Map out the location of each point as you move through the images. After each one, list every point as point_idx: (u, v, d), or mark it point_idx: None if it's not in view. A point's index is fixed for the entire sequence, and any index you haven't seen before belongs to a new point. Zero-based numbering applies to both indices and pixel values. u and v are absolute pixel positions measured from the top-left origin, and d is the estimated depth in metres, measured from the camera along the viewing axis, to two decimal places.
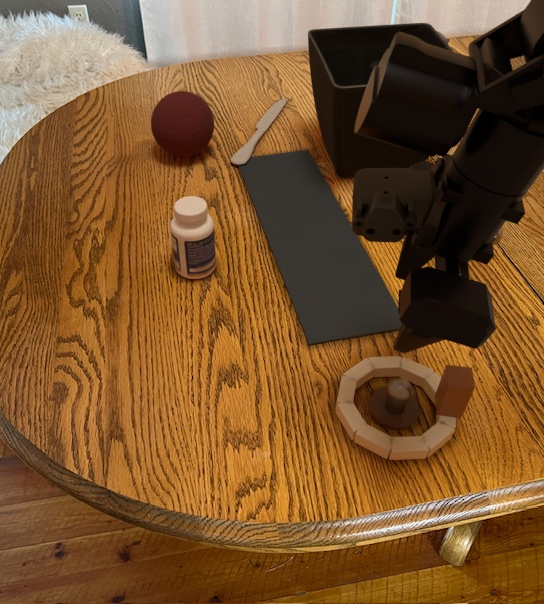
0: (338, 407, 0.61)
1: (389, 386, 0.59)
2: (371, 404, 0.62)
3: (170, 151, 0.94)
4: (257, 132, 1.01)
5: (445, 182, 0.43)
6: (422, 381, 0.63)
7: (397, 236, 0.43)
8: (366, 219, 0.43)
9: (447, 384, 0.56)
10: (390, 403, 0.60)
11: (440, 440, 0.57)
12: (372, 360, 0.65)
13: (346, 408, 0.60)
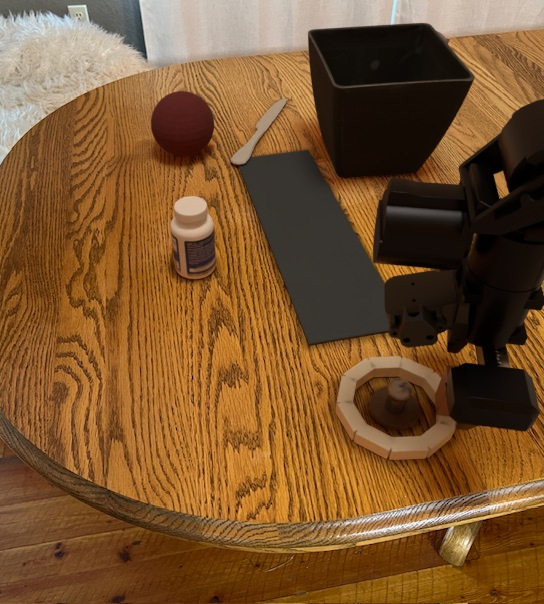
0: (338, 407, 0.61)
1: (389, 386, 0.59)
2: (371, 404, 0.62)
3: (170, 151, 0.94)
4: (257, 132, 1.01)
5: (465, 286, 0.47)
6: (422, 381, 0.63)
7: (431, 340, 0.48)
8: (400, 331, 0.48)
9: None
10: (390, 403, 0.60)
11: (440, 440, 0.57)
12: (372, 360, 0.65)
13: (346, 408, 0.60)
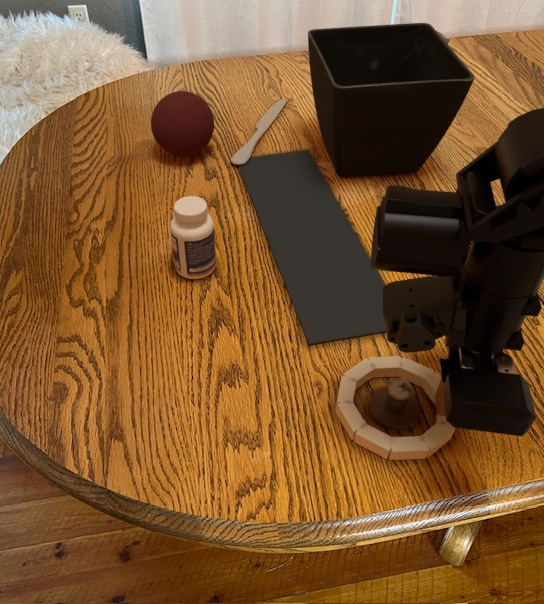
0: (338, 407, 0.61)
1: (389, 386, 0.59)
2: (371, 404, 0.62)
3: (170, 151, 0.94)
4: (257, 132, 1.01)
5: (462, 292, 0.48)
6: (422, 381, 0.63)
7: (429, 346, 0.48)
8: (398, 337, 0.48)
9: None
10: (390, 403, 0.60)
11: (440, 440, 0.57)
12: (372, 360, 0.64)
13: (346, 408, 0.60)
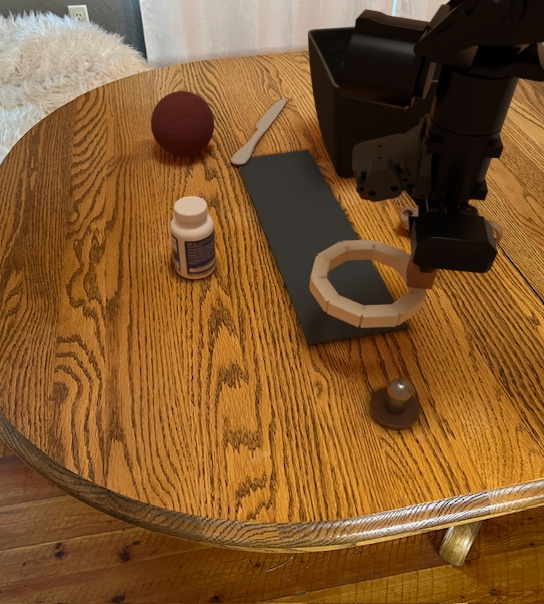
0: (312, 282, 0.62)
1: (389, 386, 0.59)
2: (371, 404, 0.62)
3: (170, 151, 0.94)
4: (257, 132, 1.01)
5: (428, 137, 0.49)
6: (394, 261, 0.65)
7: (396, 192, 0.50)
8: (365, 183, 0.50)
9: None
10: (390, 403, 0.60)
11: (410, 307, 0.59)
12: (346, 243, 0.66)
13: (319, 282, 0.62)
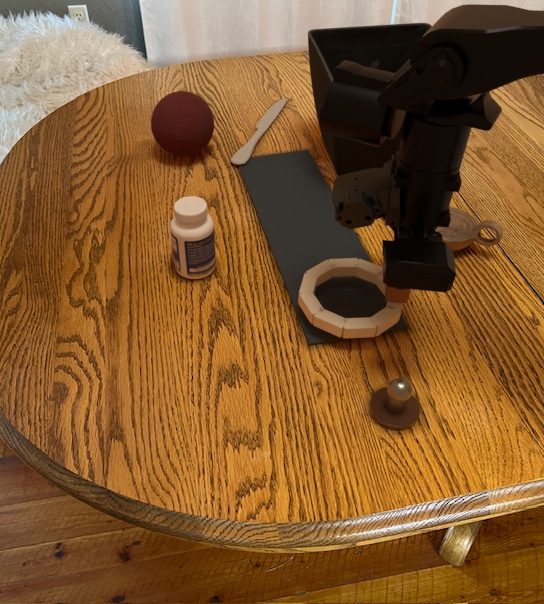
0: (300, 297, 0.69)
1: (389, 386, 0.59)
2: (371, 404, 0.62)
3: (170, 151, 0.94)
4: (257, 132, 1.01)
5: (396, 173, 0.56)
6: (375, 278, 0.72)
7: (369, 221, 0.57)
8: (342, 213, 0.57)
9: None
10: (390, 403, 0.60)
11: (387, 320, 0.66)
12: (332, 261, 0.73)
13: (307, 297, 0.69)
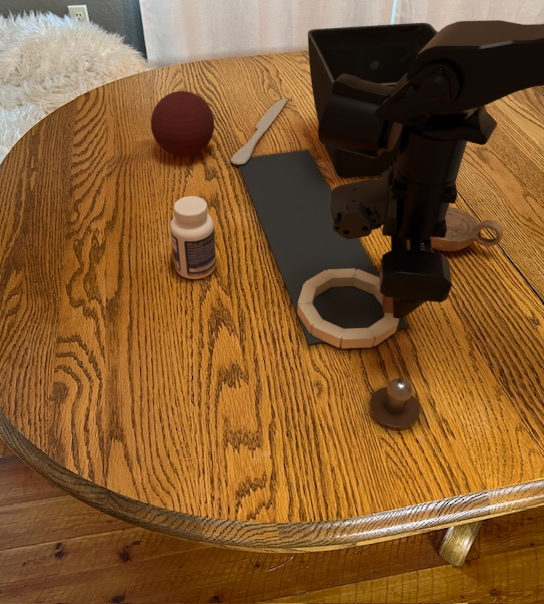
0: (299, 307, 0.70)
1: (389, 386, 0.59)
2: (371, 404, 0.62)
3: (170, 151, 0.94)
4: (257, 132, 1.01)
5: (393, 185, 0.57)
6: (373, 288, 0.73)
7: (366, 231, 0.58)
8: (340, 224, 0.58)
9: None
10: (390, 403, 0.60)
11: (384, 331, 0.67)
12: (330, 271, 0.74)
13: (305, 307, 0.70)
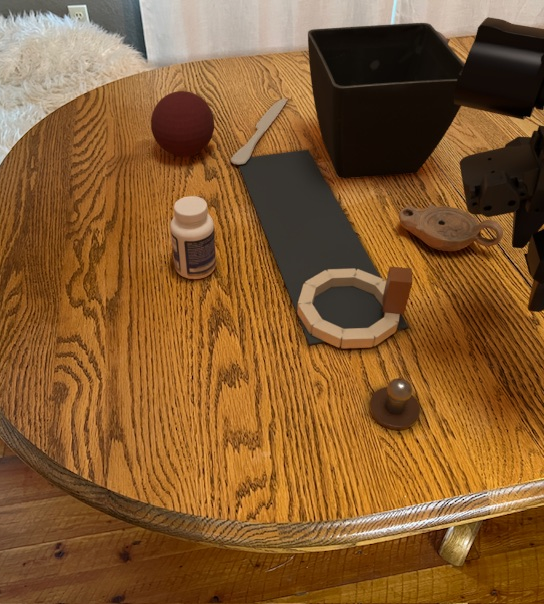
0: (299, 307, 0.70)
1: (389, 386, 0.59)
2: (371, 404, 0.62)
3: (170, 151, 0.94)
4: (257, 132, 1.01)
5: None
6: (373, 288, 0.73)
7: (513, 206, 0.48)
8: (481, 198, 0.49)
9: (389, 281, 0.66)
10: (390, 403, 0.60)
11: (384, 331, 0.67)
12: (330, 271, 0.74)
13: (305, 307, 0.70)
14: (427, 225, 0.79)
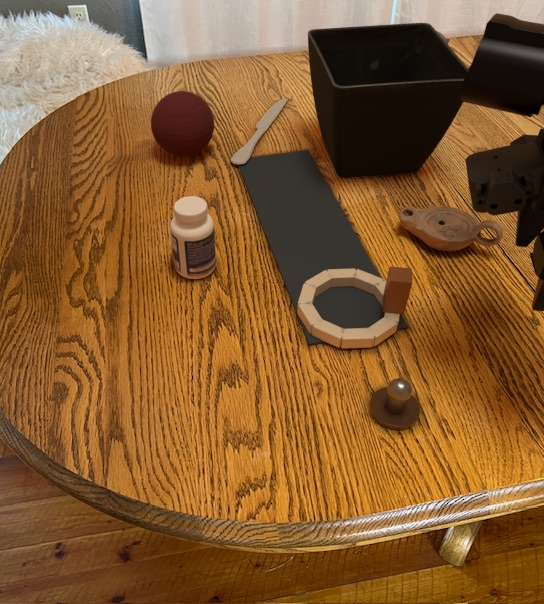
0: (299, 307, 0.70)
1: (389, 386, 0.59)
2: (371, 404, 0.62)
3: (170, 151, 0.94)
4: (257, 132, 1.01)
5: None
6: (373, 288, 0.73)
7: (519, 205, 0.48)
8: (488, 196, 0.48)
9: (389, 281, 0.66)
10: (390, 403, 0.60)
11: (384, 331, 0.67)
12: (330, 271, 0.74)
13: (305, 307, 0.70)
14: (427, 225, 0.79)
